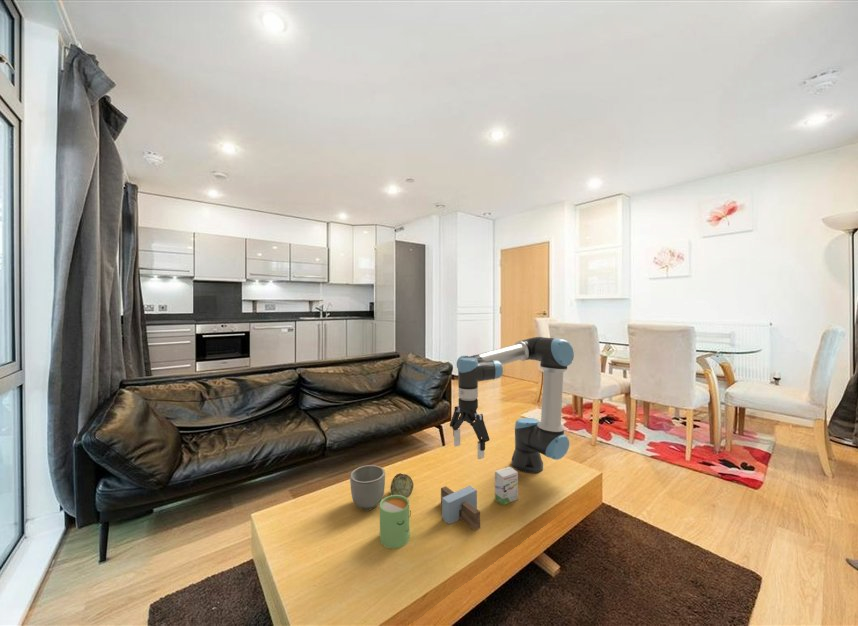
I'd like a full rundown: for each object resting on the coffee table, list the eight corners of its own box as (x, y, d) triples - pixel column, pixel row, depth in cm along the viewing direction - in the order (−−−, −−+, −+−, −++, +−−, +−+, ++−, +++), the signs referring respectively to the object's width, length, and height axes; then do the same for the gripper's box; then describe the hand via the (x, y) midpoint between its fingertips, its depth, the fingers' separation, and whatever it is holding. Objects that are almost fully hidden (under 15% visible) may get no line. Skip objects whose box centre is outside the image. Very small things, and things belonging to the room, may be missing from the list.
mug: (398, 553, 105) (398, 516, 105) (374, 541, 111) (373, 506, 111) (419, 530, 116) (419, 497, 116) (396, 520, 122) (396, 488, 121)
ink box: (502, 505, 130) (502, 476, 130) (494, 499, 134) (494, 471, 134) (518, 499, 134) (518, 471, 134) (510, 493, 138) (510, 466, 138)
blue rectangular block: (469, 505, 130) (469, 485, 130) (476, 510, 127) (476, 490, 127) (442, 518, 122) (442, 497, 122) (448, 524, 119) (448, 503, 119)
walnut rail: (445, 500, 133) (445, 486, 133) (480, 527, 117) (480, 511, 117) (441, 502, 132) (441, 488, 132) (475, 530, 116) (475, 513, 116)
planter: (391, 499, 134) (391, 468, 134) (372, 520, 122) (372, 486, 121) (364, 491, 140) (363, 462, 140) (343, 510, 127) (342, 477, 127)
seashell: (418, 491, 140) (418, 468, 140) (408, 507, 129) (408, 482, 129) (396, 487, 144) (396, 464, 143) (384, 502, 133) (384, 477, 133)
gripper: (440, 392, 135) (441, 443, 135) (484, 407, 114) (484, 467, 115) (454, 389, 139) (455, 438, 140) (498, 403, 119) (499, 461, 119)
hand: (468, 451), depth 127 cm, fingers open, 13 cm apart
